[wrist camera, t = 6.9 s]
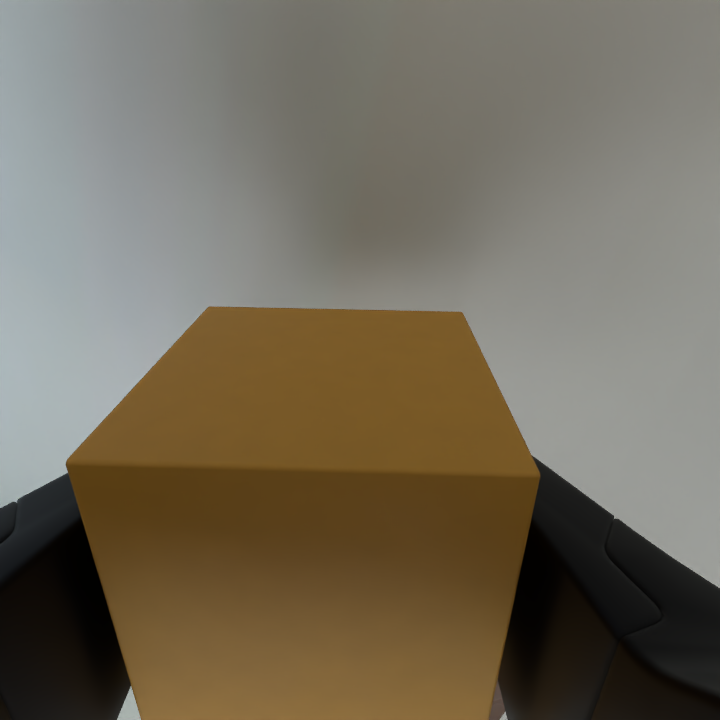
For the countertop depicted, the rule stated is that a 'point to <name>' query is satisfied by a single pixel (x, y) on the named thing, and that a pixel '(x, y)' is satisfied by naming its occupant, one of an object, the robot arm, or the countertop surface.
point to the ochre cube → (311, 518)
